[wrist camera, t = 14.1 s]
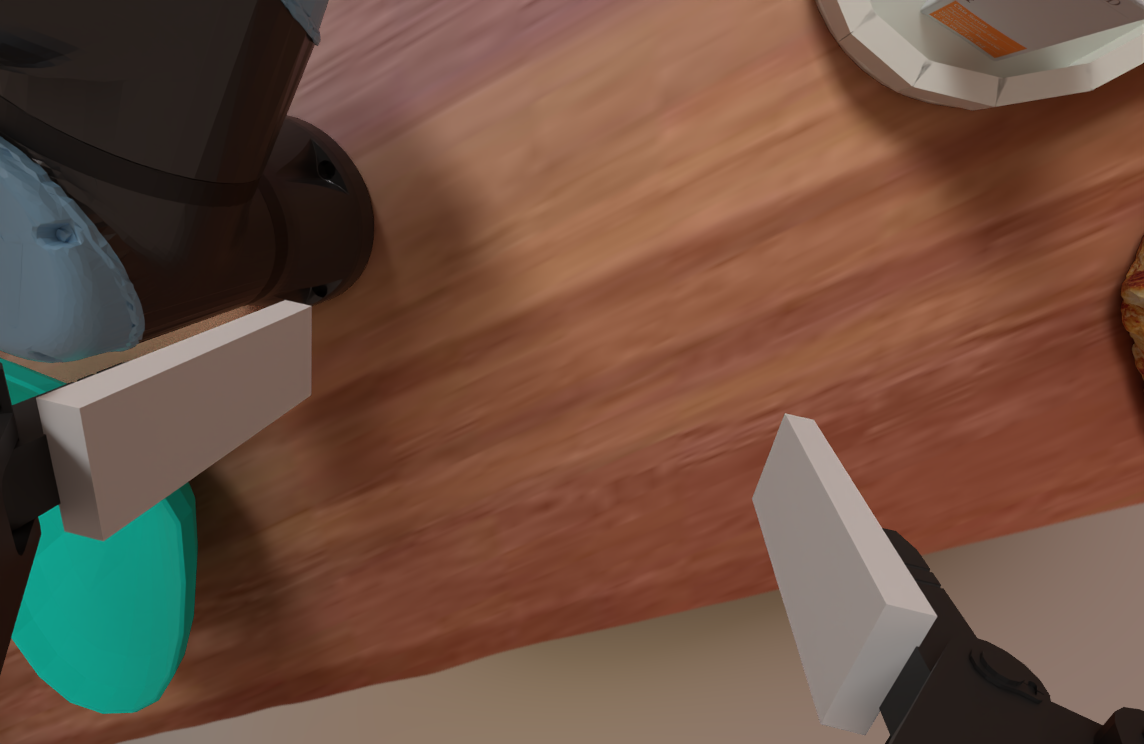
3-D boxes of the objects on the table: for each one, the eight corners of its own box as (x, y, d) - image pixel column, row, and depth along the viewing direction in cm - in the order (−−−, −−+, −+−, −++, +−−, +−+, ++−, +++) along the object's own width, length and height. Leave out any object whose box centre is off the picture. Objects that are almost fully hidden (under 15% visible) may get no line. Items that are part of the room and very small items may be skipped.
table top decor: (329, 580, 60) (243, 688, 47) (152, 632, 67) (39, 736, 55) (98, 239, 49) (-90, 264, 37) (-81, 345, 56) (-286, 396, 44)
